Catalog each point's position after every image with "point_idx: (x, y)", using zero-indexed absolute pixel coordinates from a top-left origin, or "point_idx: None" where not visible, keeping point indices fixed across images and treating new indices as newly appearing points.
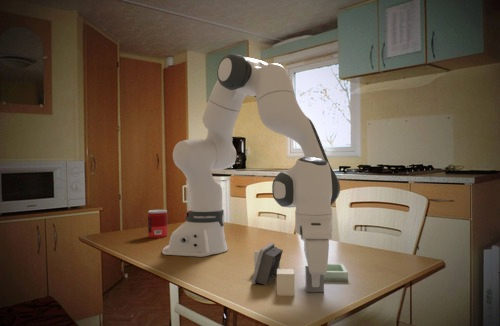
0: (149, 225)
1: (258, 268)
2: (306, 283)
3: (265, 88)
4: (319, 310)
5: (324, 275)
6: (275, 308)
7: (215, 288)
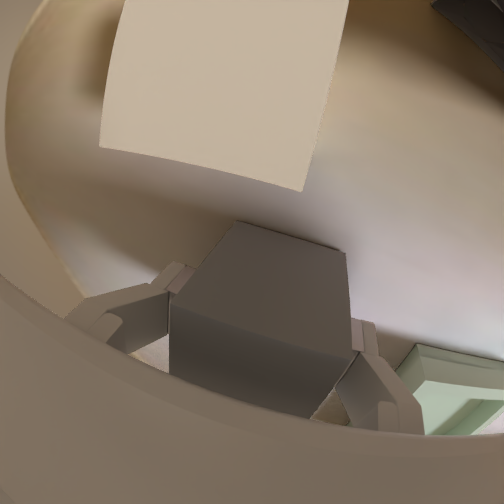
0: None
1: None
2: (234, 246)
3: None
4: (50, 203)
5: None
6: (70, 32)
7: None
